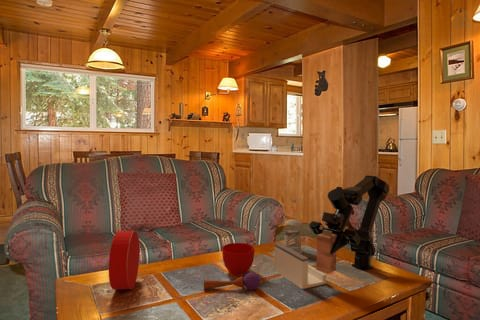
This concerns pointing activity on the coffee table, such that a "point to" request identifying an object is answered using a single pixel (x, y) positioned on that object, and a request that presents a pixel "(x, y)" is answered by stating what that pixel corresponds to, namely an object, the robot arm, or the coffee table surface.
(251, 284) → the kendama
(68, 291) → the coffee table surface
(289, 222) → the french press
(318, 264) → the block
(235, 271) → the ceramic cup
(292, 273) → the cleat board
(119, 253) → the toy clock
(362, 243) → the robot arm
